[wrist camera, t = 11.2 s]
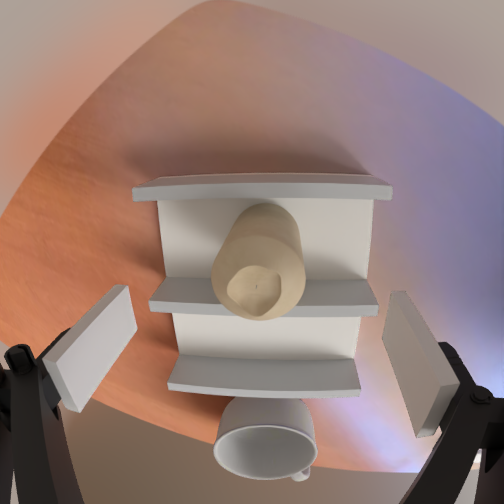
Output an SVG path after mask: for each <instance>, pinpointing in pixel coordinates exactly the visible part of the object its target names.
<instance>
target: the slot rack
mask: <svg viewBox="0 0 504 504" xmlns="http://www.w3.org/2000/svg"><path fill="white" fill-rule="evenodd" d="M392 192H393V186H392V185H390V184H388V183H386V182H384V181H382V180H380V179H378V178H376V177H374V176H372V175H362V174H336V173H227V174H201V175H182V176H166V177H159V178H156V179H154V180H151V181H148V182H146V183H143V184H141V185H139V186H136V187H134V188H132V194H133V202H139V201H157V204H158V214H159V224H160V232H161V241H162V249H163V256H164V264H165V271H166V278H165V280H164V281H163V282H162V283H161V285H160V286H159V287H158V289H157V290H156V291H155V293H154V294H153V295H152V297H151V298H150V299H149V306H150V311H152V312H166V313H172V316H173V322H174V327H175V333H176V338H177V344H178V349H179V357H178V359H177V361H176V363H175V366H174V368H173V370H172V372H171V375H170V377H169V379H168V381H167V385H168V388H169V390H174V391H182V392H191V393H201V394H211V395H223V396H238V397H257V398H340V397H359V395H360V392H361V386H360V382H359V378H358V374H357V370H356V366H355V362H354V355H355V350H356V344H357V339H358V333H359V327H360V321H361V317H365V316H377V315H378V309H379V304H378V302H377V300H376V297H375V295H374V293H373V291H372V289H371V287H370V286H369V284H368V282H367V271H368V263H369V253H370V244H371V233H372V220H373V206H374V200H392ZM261 203H270V204H275V205H278V206H280V207H282V208H284V209H285V210H287V211H288V212H289V213H290V214H291V215H292V216H293V218H294V219H295V221H296V223H297V225H298V229H299V233H300V239H301V246H302V253H303V260H304V268H305V276H306V283H305V289H304V292H303V295H302V297H301V299H300V300H299V302H298V303H297V304H296V305H295V306H294V308H293V309H291V310H290V311H289V312H287V313H286V314H284V315H282V316H280V317H278V318H274V319H270V320H263V321H257V320H249V319H245V318H242V317H240V316H237V315H235V314H234V313H232V312H231V311H229V310H228V309H227V308H225V307H224V306H223V305H222V303H221V302H220V301H219V300H218V298H217V296H216V295H215V293H214V290H213V287H212V283H211V270H212V265H213V263H214V260H215V258H216V256H217V254H218V252H219V250H220V249H221V247H222V245H223V243H224V241H225V239H226V237H227V235H228V234H229V232H230V230H231V228H232V226H233V224H234V222H235V221H236V219H237V218H238V216H239V215H240V214H241V213H242V212H243V211H244V210H246V209H247V208H249V207H251V206H253V205H256V204H261Z"/></svg>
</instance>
